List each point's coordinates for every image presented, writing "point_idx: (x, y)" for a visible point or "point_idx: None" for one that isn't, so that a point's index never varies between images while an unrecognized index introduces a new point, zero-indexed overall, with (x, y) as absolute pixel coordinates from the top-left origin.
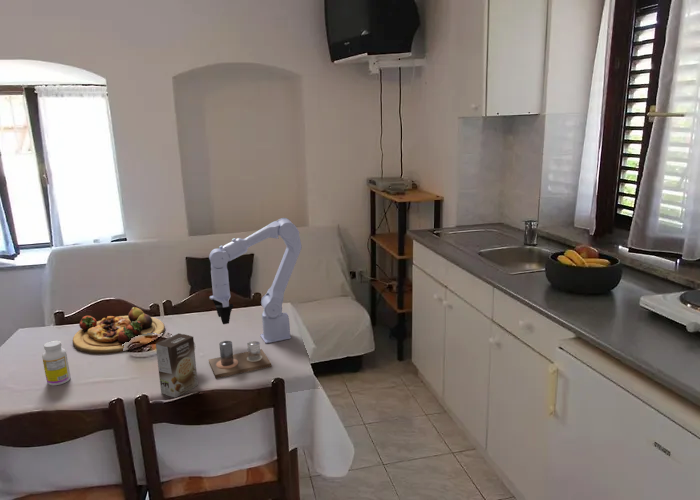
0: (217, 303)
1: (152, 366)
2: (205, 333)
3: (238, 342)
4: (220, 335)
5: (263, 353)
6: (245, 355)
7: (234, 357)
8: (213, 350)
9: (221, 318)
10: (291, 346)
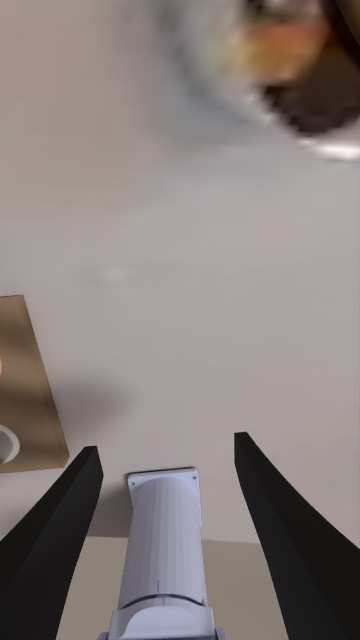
0: (300, 589)
1: (34, 16)
2: (310, 305)
3: (171, 404)
4: (261, 356)
5: (27, 468)
6: (22, 420)
7: (12, 387)
8: (132, 320)
9: (45, 493)
10: None
